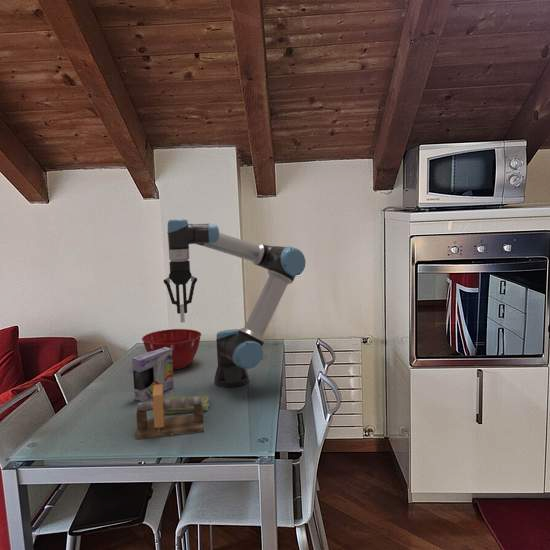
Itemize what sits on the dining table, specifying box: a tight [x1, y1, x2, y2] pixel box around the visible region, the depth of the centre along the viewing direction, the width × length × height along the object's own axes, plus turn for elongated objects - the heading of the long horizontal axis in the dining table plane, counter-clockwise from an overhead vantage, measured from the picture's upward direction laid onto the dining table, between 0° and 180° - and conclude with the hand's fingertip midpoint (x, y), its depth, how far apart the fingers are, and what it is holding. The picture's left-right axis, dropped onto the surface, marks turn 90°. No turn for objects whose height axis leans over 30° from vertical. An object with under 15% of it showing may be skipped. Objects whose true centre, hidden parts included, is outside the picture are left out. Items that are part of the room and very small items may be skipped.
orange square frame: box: [152, 384, 165, 428], centre depth 166 cm, size 3×11×11 cm, turn 12°
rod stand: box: [135, 397, 205, 440], centre depth 167 cm, size 22×12×10 cm, turn 102°
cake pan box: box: [131, 347, 175, 402], centre depth 200 cm, size 19×5×18 cm, turn 147°
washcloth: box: [164, 394, 210, 415], centre depth 186 cm, size 13×18×3 cm
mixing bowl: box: [141, 328, 202, 371], centre depth 239 cm, size 28×28×15 cm
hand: (182, 321), depth 186 cm, fingers closed
